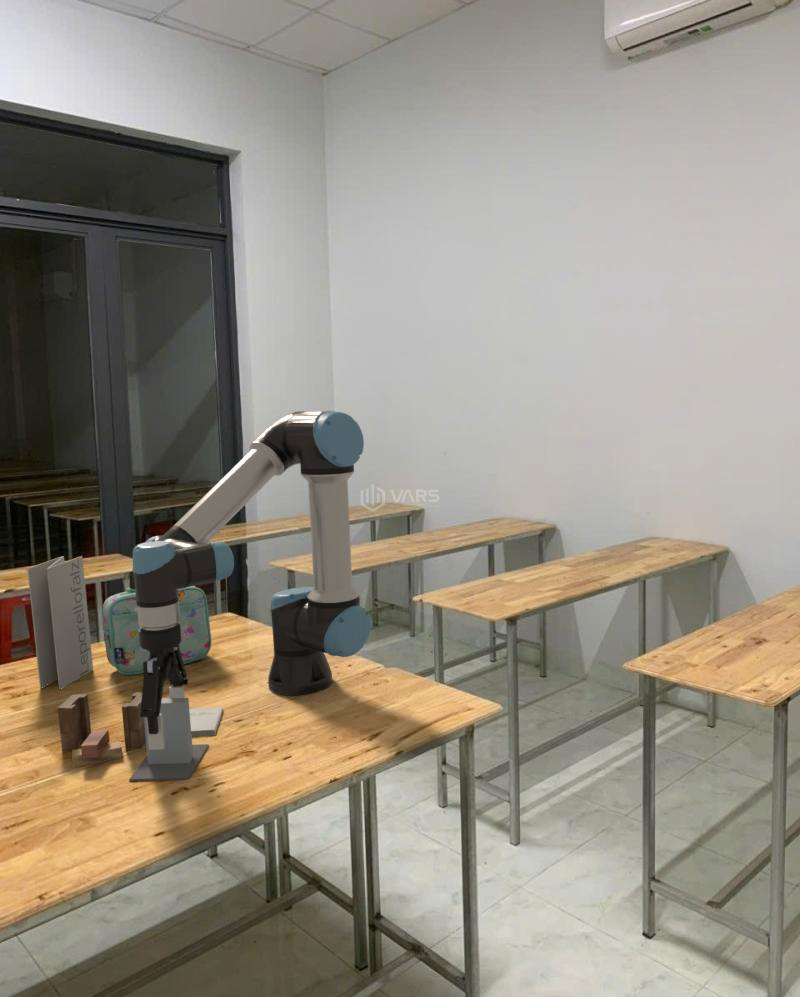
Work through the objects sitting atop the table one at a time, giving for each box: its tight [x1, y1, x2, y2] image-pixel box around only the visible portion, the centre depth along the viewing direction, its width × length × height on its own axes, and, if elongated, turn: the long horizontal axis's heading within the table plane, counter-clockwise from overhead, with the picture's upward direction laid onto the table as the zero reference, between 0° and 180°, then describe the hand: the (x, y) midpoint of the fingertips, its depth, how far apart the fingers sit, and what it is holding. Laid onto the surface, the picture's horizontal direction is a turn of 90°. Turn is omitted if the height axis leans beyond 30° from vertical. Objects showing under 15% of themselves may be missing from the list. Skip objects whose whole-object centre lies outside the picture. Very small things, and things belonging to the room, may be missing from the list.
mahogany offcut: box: [80, 729, 110, 758], centre depth 159 cm, size 7×3×2 cm, turn 2°
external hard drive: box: [189, 706, 224, 737], centre depth 175 cm, size 2×8×12 cm
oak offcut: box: [71, 741, 124, 767], centre depth 160 cm, size 9×3×2 cm, turn 110°
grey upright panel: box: [144, 697, 193, 764], centre depth 156 cm, size 8×2×12 cm, turn 88°
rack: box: [57, 692, 146, 752], centre depth 167 cm, size 16×8×9 cm, turn 88°
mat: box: [128, 743, 210, 782], centre depth 157 cm, size 11×14×1 cm
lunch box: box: [102, 586, 212, 676], centre depth 212 cm, size 27×10×21 cm, turn 120°
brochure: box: [27, 555, 94, 690], centre depth 204 cm, size 14×6×30 cm, turn 168°
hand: (168, 733), depth 156 cm, fingers open, 13 cm apart
